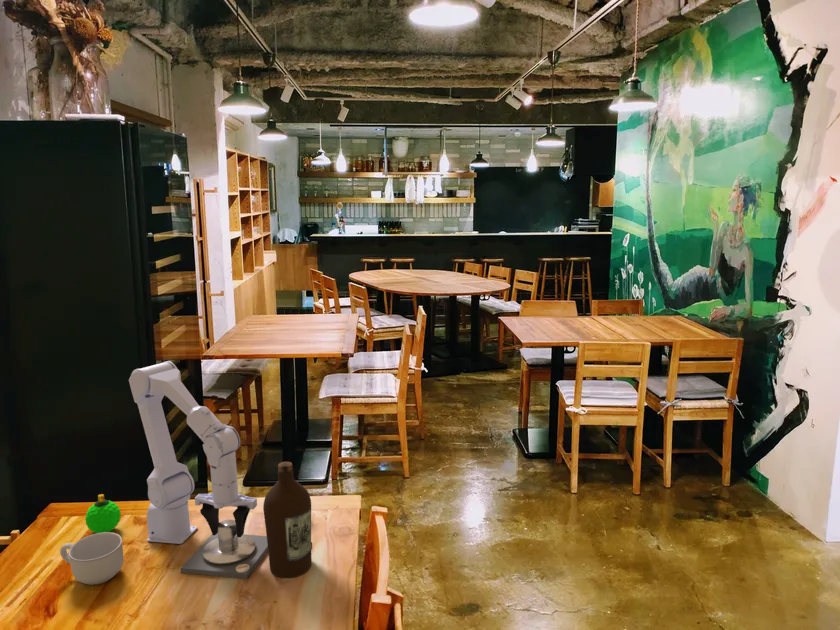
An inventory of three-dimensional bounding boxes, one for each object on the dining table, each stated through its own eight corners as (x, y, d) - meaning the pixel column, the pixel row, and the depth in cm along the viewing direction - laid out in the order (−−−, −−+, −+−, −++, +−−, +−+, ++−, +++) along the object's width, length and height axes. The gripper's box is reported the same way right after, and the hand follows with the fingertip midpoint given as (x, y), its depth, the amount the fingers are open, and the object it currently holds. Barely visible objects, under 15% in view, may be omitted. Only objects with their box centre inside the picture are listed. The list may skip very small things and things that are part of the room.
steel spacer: (215, 551, 149) (213, 528, 148) (224, 541, 154) (222, 518, 153) (233, 553, 149) (231, 529, 147) (241, 543, 153) (240, 520, 152)
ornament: (108, 521, 169) (104, 485, 167) (129, 528, 165) (125, 491, 163) (79, 535, 162) (75, 498, 160) (101, 543, 158) (97, 505, 156)
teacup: (136, 568, 147) (132, 536, 146) (98, 595, 137) (94, 561, 136) (89, 557, 152) (85, 526, 150) (49, 583, 142) (45, 550, 140)
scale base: (180, 572, 145) (180, 566, 145) (214, 536, 161) (213, 530, 160) (247, 578, 142) (246, 572, 142) (274, 541, 158) (274, 535, 158)
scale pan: (192, 562, 146) (192, 559, 146) (217, 535, 158) (217, 532, 158) (242, 566, 144) (241, 563, 144) (263, 539, 156) (263, 536, 156)
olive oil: (257, 568, 147) (251, 465, 142) (295, 548, 155) (289, 451, 150) (286, 585, 140) (280, 478, 135) (323, 564, 148) (319, 462, 143)
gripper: (186, 485, 145) (190, 540, 148) (246, 489, 143) (250, 545, 145) (201, 472, 152) (205, 525, 155) (259, 476, 150) (262, 529, 152)
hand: (228, 534), depth 151 cm, fingers open, 6 cm apart
